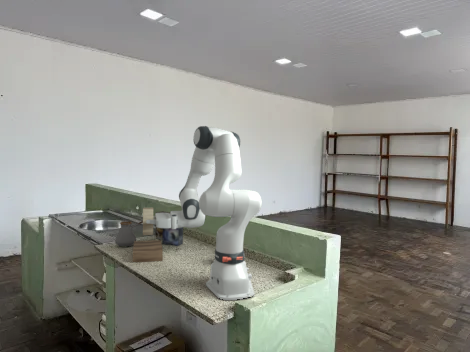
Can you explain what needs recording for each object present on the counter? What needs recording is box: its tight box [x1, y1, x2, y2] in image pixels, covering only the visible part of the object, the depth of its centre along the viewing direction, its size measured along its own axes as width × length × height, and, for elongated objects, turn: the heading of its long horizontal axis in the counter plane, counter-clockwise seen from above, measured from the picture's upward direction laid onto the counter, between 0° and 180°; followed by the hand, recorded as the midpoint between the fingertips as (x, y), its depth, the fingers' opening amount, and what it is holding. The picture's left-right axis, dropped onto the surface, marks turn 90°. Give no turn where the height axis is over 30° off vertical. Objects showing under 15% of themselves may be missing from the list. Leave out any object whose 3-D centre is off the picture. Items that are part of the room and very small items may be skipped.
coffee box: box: [155, 210, 171, 240], centre depth 200 cm, size 9×6×16 cm
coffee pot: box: [114, 220, 143, 247], centre depth 186 cm, size 21×12×15 cm, turn 124°
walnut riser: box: [132, 239, 164, 263], centre depth 167 cm, size 20×14×5 cm
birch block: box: [142, 207, 154, 236], centre depth 166 cm, size 5×5×13 cm
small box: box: [161, 227, 184, 247], centre depth 189 cm, size 11×6×10 cm, turn 73°
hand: (146, 220), depth 166 cm, fingers closed on birch block, 5 cm apart
